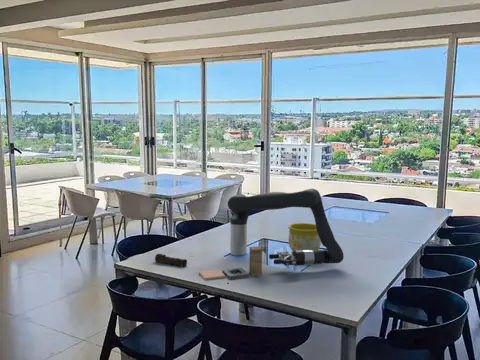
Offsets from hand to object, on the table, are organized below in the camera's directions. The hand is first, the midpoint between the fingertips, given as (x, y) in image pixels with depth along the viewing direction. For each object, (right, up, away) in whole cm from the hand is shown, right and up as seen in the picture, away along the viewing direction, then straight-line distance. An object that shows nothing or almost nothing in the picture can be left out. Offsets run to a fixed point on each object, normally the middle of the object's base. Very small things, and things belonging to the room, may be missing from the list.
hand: (271, 259), depth 221 cm
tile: (-29, -7, -4) cm, 30 cm away
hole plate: (-18, -7, -2) cm, 19 cm away
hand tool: (-52, -5, +14) cm, 54 cm away
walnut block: (-8, -7, -1) cm, 11 cm away
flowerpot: (+20, -4, +31) cm, 38 cm away
